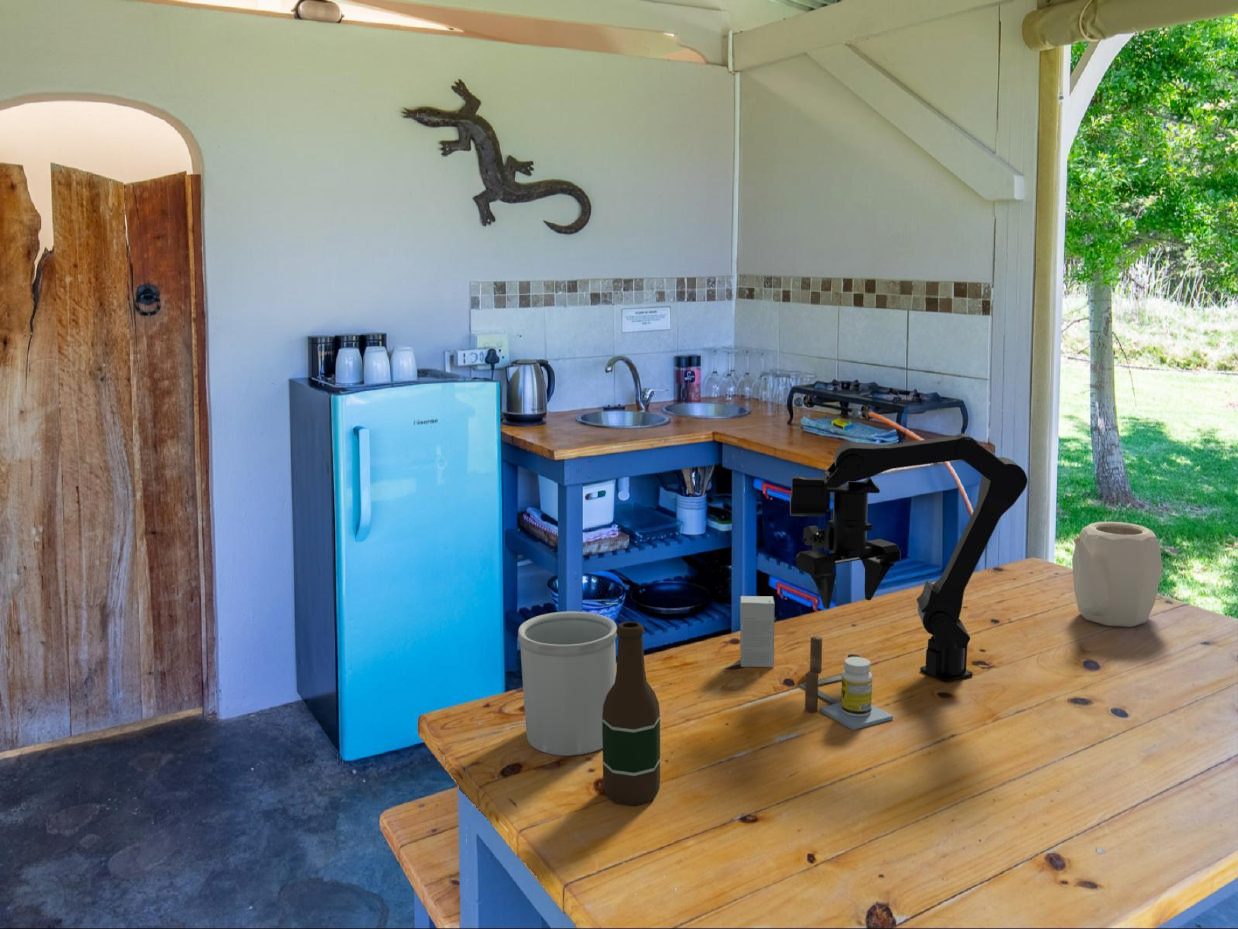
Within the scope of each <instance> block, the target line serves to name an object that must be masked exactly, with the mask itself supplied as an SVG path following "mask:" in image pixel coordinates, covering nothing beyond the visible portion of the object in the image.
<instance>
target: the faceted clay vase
mask: <svg viewBox="0 0 1238 929" xmlns="http://www.w3.org/2000/svg"><path fill="white" fill-rule="evenodd" d="M1072 541H1073V543H1074V544H1075V545H1074V550H1073V554H1072V558H1071V561H1072V563H1071V564H1072V578H1073V591H1074V595H1075V600H1076V605H1077V608H1078V612H1079V613H1080V614H1081V616H1082V617H1083V619H1085V620H1086V621H1090V622H1094V623H1098V624H1101V625H1103V626H1107V627H1123V628H1124V627H1127V628H1132V627H1135V626H1138V625H1141V624H1144V623H1146V622H1147V621H1148V619H1149V617H1150V615H1151V612H1152V610H1153V607H1154V605H1155V604H1156V600H1157V599H1156V598H1157V595H1158V590H1159V588H1160V583H1161V582H1160V581H1161V578H1162V574H1163V565H1162V553H1161V548H1160V545H1159V544H1160V543H1159V541H1158V538H1157V535H1156V534H1155V533H1154V531H1152V530H1151V529H1149V528H1147V526H1146V527H1145V526H1143V525H1139V524H1135V523H1131V522H1130V523H1129V522H1124V521H1123V522H1122V521H1097V522H1092V523H1090V524H1088V525H1086V526H1084V527H1083V528H1082V529H1081V531H1080V533H1079V535H1078V537H1075V538H1074V539H1072Z"/></svg>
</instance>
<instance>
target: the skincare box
mask: <svg viewBox="0 0 1238 929" xmlns="http://www.w3.org/2000/svg"><path fill="white" fill-rule="evenodd" d="M739 597H740V601H739V604H740V606H739V609H740V610H739V615H740V624H739V625H740V635H739V636H740V641H739V642H740V653H739V654H740V667H742V668H743V667H744V668H750V667H751V668H774V667H775V604H776V603H775V600H774V596H772V595H771V596H765V595H764V596H759V595H754V596H752V595H751V596H750V595H741V596H739Z"/></svg>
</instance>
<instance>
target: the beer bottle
mask: <svg viewBox="0 0 1238 929" xmlns="http://www.w3.org/2000/svg"><path fill="white" fill-rule="evenodd" d="M645 632H646V631H645V627H644V625H643V624H642V623H640V622H638V621H623V622H620V623H619V624H618V625H617V630H616V633H617V636H618V637H617V653H616V655H617V656H616V678H615V683H614V685H613V686H612V688H611V689H610V691H609V692H608V694H607V696H606V699H605V702H604V704H603V714H602V739H603V748H602V782H603V792H604V794H605V795H606V796H607V797H608V799H609V800H611V802H613V803H614V804H617V805H624V806H631V807H637V806H641V805H643V804H644V805H645V804H647V803H651V802H653V801H654V800H655V798H656V796H657V794H658V792H659V791H660V786H661V713H660V703H659V700H658V696H657V695H656V692H655V690H654V689H653V688H652V687H651V684H649V682H648V680H647V674H646V668H645V667H646V666H645V665H646V664H645V655H644V654H645V653H644V641H643V640H644V639H643V635H644V633H645Z"/></svg>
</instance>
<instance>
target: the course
mask: <svg viewBox="0 0 1238 929" xmlns="http://www.w3.org/2000/svg"><path fill="white" fill-rule="evenodd" d="M849 657H861V655H859V654H855V653H851V654H848V655H847V658H849ZM809 658H810V659H809V671H810V672H806V673H805V682H804V683H800V684H799V687H800V688H802V689H803V690H805V691H804V692H805V695H804V710H805V712H806V713H811V714H812V713H813V714H814V713H818V711H819V710H818V708H819V706H818V705H819V703H818V702H819V700H818V699H821V700H823V701H825V702H827V703H828V704H829V705H832V704H836V703H840V702H841V701H840V700H838V699H837V698H834V697H833V696H831V695H829V694H827V693H825V692H823V690H822V691H821V690H820V689H819V687H821V686H824V685H829V684H833V683H837V682H842V674H839V675H838V674H837V675H836V676H835V675H834V676H830V677H826V678H822V679H819V674H818V673H821V672H822V671H823V670H822V668H823V667H822V666H823V665H822V664H823V662H822V661H823V637H822V636H817V635H813V636H810V654H809Z"/></svg>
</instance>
